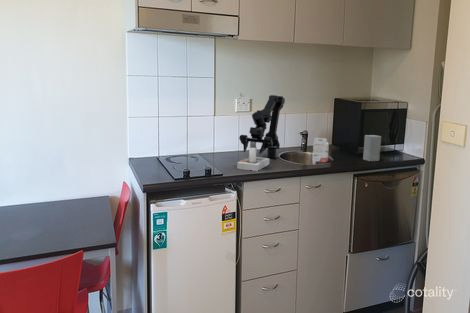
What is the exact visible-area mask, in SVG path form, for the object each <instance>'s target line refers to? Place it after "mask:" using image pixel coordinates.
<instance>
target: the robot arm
mask: <svg viewBox="0 0 470 313" xmlns="http://www.w3.org/2000/svg"><path fill="white" fill-rule="evenodd" d="M285 100H286V99H285V97H284V96H282V95H274V94H271V95H269V96H268V100H267V102H266V103H265V105H264V108H263V109H260V110H256V111H255V112H253V113H252V115H251V118H252V121H253V124H254V126H255V127H250V128H249V131H248V134H250V137H248V135H247V134H241V135H239V137H238V138H239V141H240V144H241V145H243V153H245V152H246V151H247V149H248V148H249V144H250V142H251V141H254V142H256V143H257V144H258V143H260V144H261V147H260V149H259V152H258V154H259V155H261V154H262V153H263V152H264V151H265V150H267V151H266V157H265V158H270V159H274V160H276V159H277V158H278V156H277V150H279V149H280V147H281V146H280V145H281V144H280V142H279V136H278V134H277V131H278V124H279V118H280V111H281V110H282V109H283V107H284V105H285V102H286V101H285ZM268 123H269V127H268V128H269V129H268V130H269V131H268V132H267V133H265V131H266V130H267V124H268Z"/></svg>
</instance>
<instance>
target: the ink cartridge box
mask: <svg viewBox="0 0 470 313" xmlns="http://www.w3.org/2000/svg"><path fill="white" fill-rule="evenodd" d="M329 144H330V143H329V142H328V139H327V138H324V137H313V143H312V161H313V162H318V163H327V162H328V160H329Z"/></svg>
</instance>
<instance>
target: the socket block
mask: <svg viewBox="0 0 470 313" xmlns="http://www.w3.org/2000/svg"><path fill="white" fill-rule="evenodd" d="M270 159H271V158H266V157H261V156H256V164H254V163H249V156H247V157H246V158H243V159H241V160H240V161H238V162H237V163H236V169H237V170H245V171H250V170H252V171H251V172H259V171H260V170H262V169H263V168H265V167H268V166H269V165H270ZM258 170H259V171H258Z"/></svg>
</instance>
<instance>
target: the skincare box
mask: <svg viewBox="0 0 470 313" xmlns="http://www.w3.org/2000/svg"><path fill="white" fill-rule="evenodd" d="M363 144H364V145H363V153H362V156H363V157H362V160H363V161H367V162H370V161H371V162H379V161H380V157H381V146H382V145H381V144H382V135H375V134H369V135H368V134H365V135H364V142H363Z"/></svg>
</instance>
